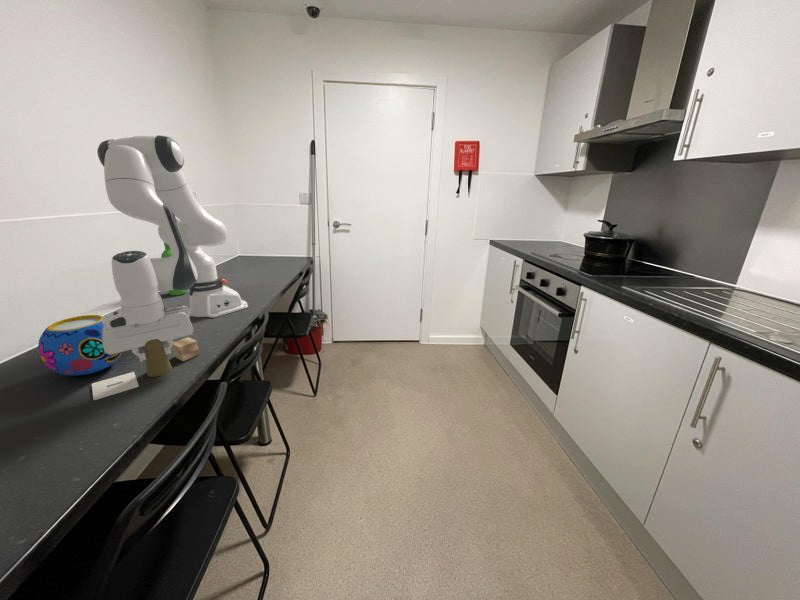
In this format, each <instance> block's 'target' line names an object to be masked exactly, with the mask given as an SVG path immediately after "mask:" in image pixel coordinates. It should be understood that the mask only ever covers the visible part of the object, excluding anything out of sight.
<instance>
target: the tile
mask: <svg viewBox="0 0 800 600" xmlns="http://www.w3.org/2000/svg"><path fill="white" fill-rule="evenodd" d="M139 387H140V386H139V382H138V380H137V376H136V373H135V371H131V372H128V373H124V374H120V375H118V376H114V377H111V378H107V379H103V380H100V381H97V382H92V383H91V390H92V398H93V401H96V400H99V399H104V398H106V397H110V396H112V395H113V396H114V395H116V394H120V393H123V392H126V391H130V390H133V389H135V388H139Z"/></svg>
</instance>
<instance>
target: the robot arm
mask: <svg viewBox="0 0 800 600" xmlns="http://www.w3.org/2000/svg"><path fill="white" fill-rule="evenodd" d="M96 151H97V158H98V160H99V162H100V164H101V165H102V167H103V171H104V172H103V173H104V174H103V175H104V183H105V184H104V185H105V191H106V194H107V198H108V201H109V203H110V204H111V205H112V206H113V208H115V209H116V210H117V211H119V212H120V213H122V214H123V215H125V216H128V217H131V218H133V219H136V220H141V221H144V222H148V223H150V224H154V225H155V226H158V228H157V233H158V235H159V236H158V237H159V238H160V240H161V241H162V242H163V243H164V242H165V243H167V244H168V245H169V246H170V249H171V252H172V256H171V257H167V258H161V257H155V258H150V256H149V254H148V253H147V252H144V251H141V250H129V251H127V250H126V251H123V252H120V253H119V252H118V253H116V254H114V255H113V256H112V257H111V270H112V277H113V278H112V279H113V282H114V285H115V289H116V291H117V293H118V294H119V297H120V303H119V304H120V307H119V308H117V309H115V310H112V311H110V312H108V313H106V314H104V315H102V316H103V317H102V323H103V328H102V343H103V348H104V352H105V353H107V354H109V355H111V354H115V353H119V352H122V353H123V352H127V351H130V350H131V351H132V352H131V353H132V354H134V355H135V356H136V357H138V358H139V362H140V363H142V362H146V360H147V358H146V355H145V352H142V353H141V352H139V351H140V350H139V349H140V348H142V347H143V346H145V344H146V342H148V341H150V340H154V339H158V340H160V341H162V342H163V341H164V342H167V345H166V346H165V347H163V348H164V351H165V354H166V355H167V356H168V355H171V354H172V353H173V351H172V350H171V349H172V345H173V343H174V342H175V341H174V340H175V339H178V338H179V339H180V338H184V337H187V336H188V337H189V336H191V335H192V334H193V332H194V328H193V325H192V322H191V319H190V317H192V318H193V317H194V318H217V317H220V316H224V315H228V314H231V313H234V312H239V311H241V310H245V309H247V308H248V307H249V305H248V302H247V301H245V300H244V299H242V298H241V295H240V294H239V293H238V292H237V291H236V290H234V289H232V288H231V287H228V286H227V285H228V284H227V283H228V281H227V279H225V278H221V277H220V276H219V277H218V272H217V265H216V262H215V260H214V258H213V257H211V256H210V255H208V254H206V253H205V252H204V250H203V249H202V247H205V248H206V247H207V248H211V247H216V246H217V247H218V246H222V245H224V244H225V243H226V241H227V239H228V236H229V235H228V234H229V232H228V229H227V227H226V225H225V224H224V223H223V222H222V221H220V220H219V219H217V218H215V217H213V216H212V215H211V214H210V213H208V211H206V209H204V208H203V207H202V205H201V204H200V203H199V201H198V200H197V199H196V196H195V195H194V193H193V190H192V189H191V186H190V185H189V182H188V180H187V178H186V176H185V174H184V172H183V170H182V168H183V166H184V164H185V160H184V155H183V151H182V148H181V147H180V145H179V143H178V142H177V141H175V140H174V139H173V138H172V137H171V136H170V137H169V136H165V135H156V136H154V135H135V136H132V137H123V138H117V139H113V138H110V139H106V140H103V141H101V142H100V143H99V145H98V147H97V150H96ZM169 290H187V294H188V298H189V307H188V306H186V305H184V304H180V305H179V304H178V305H175V306H168V307H164V304H163V300H162V296H161V295H160V293H159V292H164V291H169Z"/></svg>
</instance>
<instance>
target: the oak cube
mask: <svg viewBox="0 0 800 600" xmlns="http://www.w3.org/2000/svg"><path fill="white" fill-rule="evenodd" d="M171 349H172V353H173V355H174V358H175V359H178V360H180V361H181V362H185V361H188V360H190V359H192V358H195V357H197V356H200V355H201V354H200V349H199V345H198V340H195V339H193V338H191V337H189V336H188V337H187V336H186V337H185V338H182V339H180V340H176V341H174V343H173V345H172V347H171Z"/></svg>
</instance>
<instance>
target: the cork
mask: <svg viewBox="0 0 800 600" xmlns="http://www.w3.org/2000/svg"><path fill="white" fill-rule="evenodd" d="M164 342H165V341H163V342H162V341H160V340H158V339H154V340H150V341H148V342H146V344H145V346H143V347H141V349H143V350H144V353H145V355H146V358H147V360H146V361H145V368H146V376H148V377H151V378H156V377H160V376H163V375H167V374H168V373H170V372H171V371H172V370H173V366H172V365H171V362H170V359H169V357H168V355H166V354H165V351H164V348H165V347H164V346H163V345H164Z"/></svg>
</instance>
